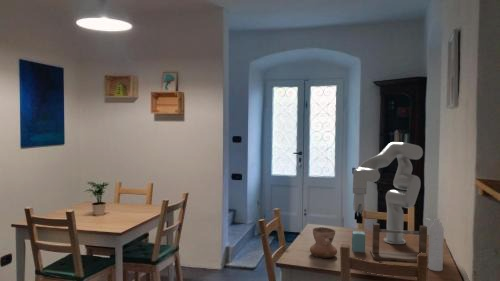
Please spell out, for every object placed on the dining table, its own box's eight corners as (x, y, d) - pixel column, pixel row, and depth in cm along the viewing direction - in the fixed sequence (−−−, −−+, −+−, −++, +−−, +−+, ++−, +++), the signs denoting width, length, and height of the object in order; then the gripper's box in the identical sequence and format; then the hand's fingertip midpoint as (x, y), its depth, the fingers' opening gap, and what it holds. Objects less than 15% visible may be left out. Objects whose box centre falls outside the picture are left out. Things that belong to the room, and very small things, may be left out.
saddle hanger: (351, 248, 230) (352, 231, 230) (363, 249, 229) (363, 231, 229) (352, 251, 224) (353, 233, 224) (364, 252, 223) (365, 234, 223)
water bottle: (438, 266, 201) (440, 217, 201) (444, 271, 195) (446, 220, 194) (421, 266, 202) (422, 217, 201) (426, 271, 195) (428, 220, 194)
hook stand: (370, 252, 223) (370, 221, 222) (423, 255, 219) (424, 223, 218) (373, 259, 211) (374, 226, 211) (429, 263, 207) (430, 229, 206)
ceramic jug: (340, 261, 208) (341, 233, 208) (312, 260, 207) (313, 233, 207) (332, 251, 226) (333, 225, 226) (306, 250, 225) (307, 225, 225)
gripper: (351, 188, 235) (349, 217, 235) (354, 192, 218) (353, 224, 218) (364, 189, 234) (363, 218, 234) (368, 193, 216) (367, 225, 217)
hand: (358, 221), depth 226 cm, fingers open, 9 cm apart
